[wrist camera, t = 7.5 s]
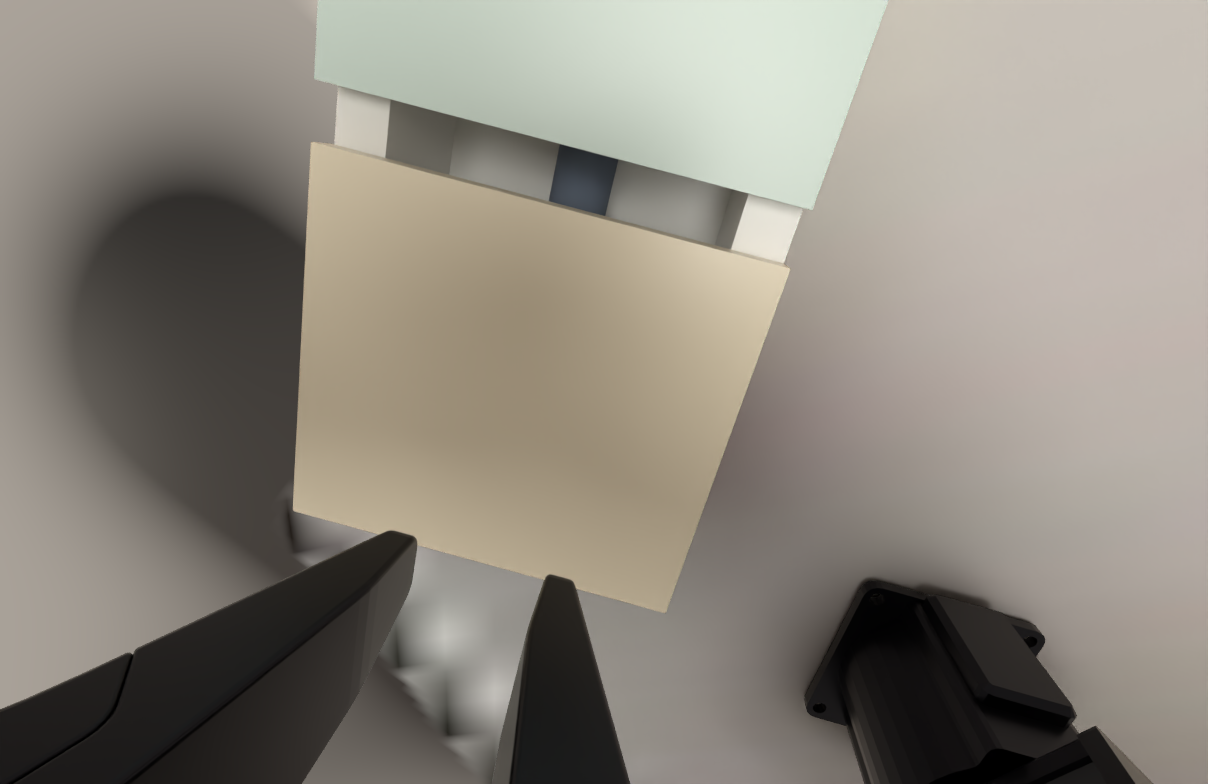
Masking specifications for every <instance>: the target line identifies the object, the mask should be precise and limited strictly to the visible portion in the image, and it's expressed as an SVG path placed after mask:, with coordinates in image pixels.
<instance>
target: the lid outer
mask: <svg viewBox="0 0 1208 784" xmlns="http://www.w3.org/2000/svg"><path fill="white" fill-rule="evenodd" d="M887 3H888V0H318V8H317V28H316V49H315V69H314V79H316V80H319V81H323V82H327V83H330V84H334V85H337V86H341V87H345V88H349V89H353V90H356V91H360V92H364V93H368V94H372V95H375V96H379V97H383V98H387V99H391V100H394V101H398V102H402V103H406V104H410V105H413V106H417V107H421V108H425V109H429V110H432V111H436V112H440V113H444V114H448V115H451V116H455V117H459V118H463V119H467V120H470V121H474V122H478V123H482V124H486V125H489V126H493V127H497V128H501V129H505V130H508V131H512V132H516V133H520V134H524V135H527V136H531V137H535V138H539V139H543V140H546V141H550V142H554V143H558V144H562V145H565V146H569V147H573V148H577V149H581V150H584V151H588V152H592V153H596V154H600V155H603V156H607V157H611V158H615V159H619V160H622V161H626V162H630V163H634V164H638V165H641V166H645V167H649V168H653V169H657V170H660V171H664V172H668V173H672V174H676V175H679V176H683V177H687V178H691V179H695V180H698V181H702V182H706V183H710V184H714V185H717V186H721V187H725V188H729V189H733V190H736V191H740V192H744V193H748V194H752V195H755V196H759V197H763V198H767V199H771V200H774V201H778V202H782V203H786V204H790V205H793V206H797V207H801V208H805V209H809V210H812V209H813V207H814V204H815V201H816V198H817V196H818V193H819V190H820V187H821V185H822V182H823V179H824V176H825V174H826V171H827V168H828V165H829V163H830V160H831V157H832V154H833V151H834V149H835V146H836V143H837V140H838V138H839V135H840V132H841V129H842V127H843V124H844V121H845V118H846V116H847V113H848V110H849V107H850V105H851V102H852V99H853V96H854V94H855V91H856V88H857V85H858V83H859V80H860V77H861V74H862V72H863V69H864V66H865V63H866V61H867V58H868V55H869V52H870V50H871V47H872V44H873V41H874V39H875V36H876V33H877V30H878V28H879V25H880V22H881V19H882V16H883V14H884V11H885V8H886V5H887Z"/></svg>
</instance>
